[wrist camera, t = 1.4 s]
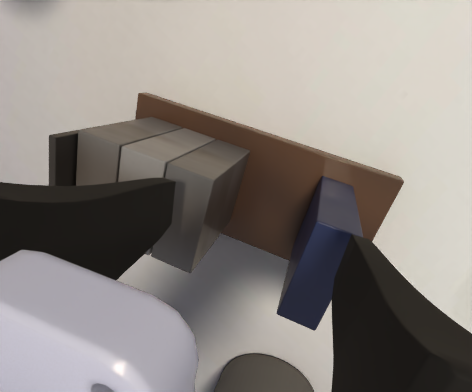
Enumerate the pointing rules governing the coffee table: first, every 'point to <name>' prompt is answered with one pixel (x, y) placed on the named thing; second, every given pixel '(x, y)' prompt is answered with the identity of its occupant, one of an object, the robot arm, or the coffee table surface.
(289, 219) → the walnut book board
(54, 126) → the coffee table surface
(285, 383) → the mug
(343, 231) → the navy book
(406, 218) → the coffee table surface
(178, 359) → the robot arm
